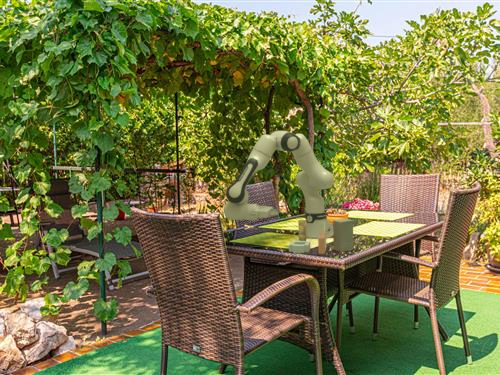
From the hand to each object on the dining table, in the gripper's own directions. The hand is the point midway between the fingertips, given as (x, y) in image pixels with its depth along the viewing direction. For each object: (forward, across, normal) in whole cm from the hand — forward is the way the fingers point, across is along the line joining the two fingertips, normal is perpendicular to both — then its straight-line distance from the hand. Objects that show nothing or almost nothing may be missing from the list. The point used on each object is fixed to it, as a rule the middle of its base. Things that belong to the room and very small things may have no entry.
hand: (279, 212), depth 271 cm
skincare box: (+34, -9, +18) cm, 39 cm away
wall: (+23, -10, +18) cm, 32 cm away
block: (+12, -10, +18) cm, 24 cm away
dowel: (+12, 0, +18) cm, 22 cm away
